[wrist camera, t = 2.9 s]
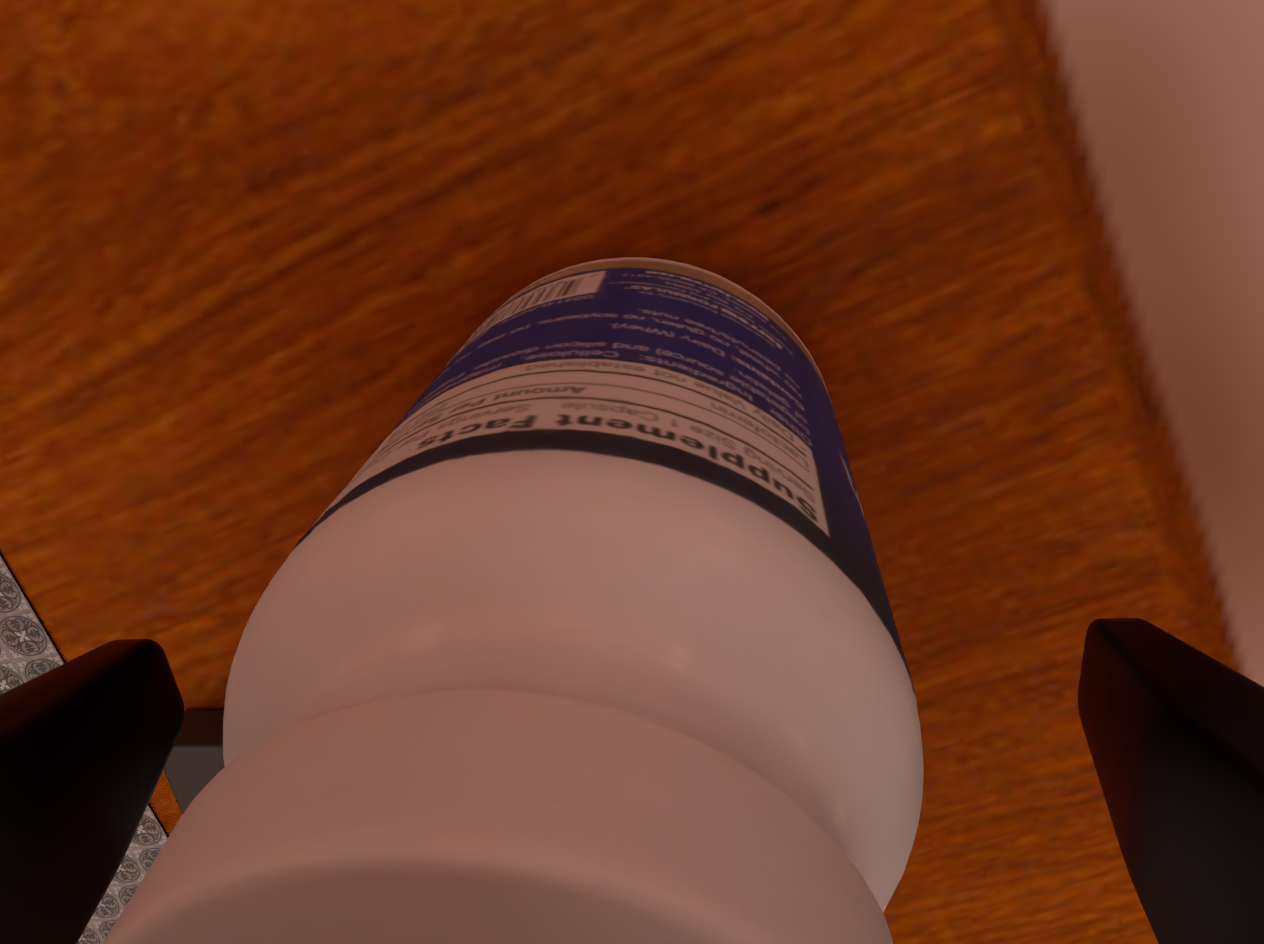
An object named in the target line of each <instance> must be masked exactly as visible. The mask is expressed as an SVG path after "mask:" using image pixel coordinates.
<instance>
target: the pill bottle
mask: <svg viewBox="0 0 1264 944" xmlns="http://www.w3.org/2000/svg"><path fill="white" fill-rule="evenodd" d="M223 758H224V765H225V768H223V769H222V770H221V771H219V773H218V774H217V775H216V776H215V777H214V778H213V779H212V780H211V781H210V782H209V783H208V784H207V785H206V786H205V787H204V788H203V789H202V790H201V792H200V793H199V794H198V795H197V796H196V797H195V798H194V799H193V801H192V802H191V803H190V805H189V806H188V808H187V809H186V810H185V812H184V813H183V815H182V816H181V817H180V819H179V820H178V822H177V824H176V825H175V827H174V829H173V830H172V832H171V834H170V836H169V837H168V839H167V841H166V842H165V844H164V846H163V847H162V849H161V851H160V852H159V854H158V856H157V857H156V859H155V861H154V862H153V864H152V866H151V867H150V869H149V871H148V872H147V874H146V875H145V877H144V879H143V880H142V882H141V883H140V885H139V886H138V888H137V890H136V891H135V893H134V894H133V896H132V897H131V899H130V901H129V902H128V904H127V905H126V907H125V908H124V910H123V912H122V913H121V915H120V916H119V918H118V919H117V921H116V923H115V924H114V926H113V927H112V929H111V931H110V932H109V934H108V935H107V937H106V938H105V940H104V942H103V943H102V944H894V943H893V940H892V936H891V933H890V930H889V927H888V924H887V921H886V918H885V915H884V914H883V912H884V910H885V908H886V907H887V905H888V903H889V901H890V899H891V897H892V895H893V893H894V891H895V889H896V887H897V885H898V883H899V882H900V880H901V878H902V876H903V874H904V871H905V868H906V865H907V861H908V858H909V855H910V852H911V849H912V846H913V842H914V839H915V835H916V831H917V827H918V822H919V818H920V811H921V805H922V797H923V776H924V766H923V748H922V738H921V729H920V721H919V717H918V711H917V702H916V696H915V692H914V688H913V684H912V680H911V676H910V672H909V669H908V666H907V663H906V660H905V657H904V653H903V650H902V647H901V643H900V639H899V636H898V632H897V629H896V625H895V622H894V618H893V615H892V611H891V608H890V604H889V601H888V597H887V594H886V591H885V587H884V584H883V580H882V577H881V574H880V570H879V567H878V564H877V560H876V556H875V553H874V549H873V545H872V541H871V538H870V534H869V531H868V528H867V524H866V521H865V518H864V514H863V510H862V506H861V504H860V501H859V497H858V494H857V490H856V486H855V483H854V479H853V476H852V472H851V469H850V465H849V461H848V458H847V454H846V451H845V447H844V444H843V440H842V437H841V434H840V430H839V427H838V423H837V420H836V416H835V413H834V409H833V406H832V403H831V400H830V397H829V393H828V390H827V387H826V385H825V382H824V380H823V377H822V375H821V372H820V370H819V368H818V367H817V365H816V363H815V361H814V359H813V357H812V356H811V354H810V352H809V351H808V349H807V348H806V347H805V345H804V344H803V342H802V341H801V340H800V338H799V337H798V336H797V335H796V333H795V332H794V331H793V330H792V329H791V328H790V327H789V326H788V324H787V323H786V322H785V321H784V320H783V319H782V318H781V317H780V316H779V315H778V314H777V313H776V312H775V311H774V310H773V309H771V308H770V307H769V306H768V305H766V304H765V303H764V302H763V301H761V300H760V299H759V298H758V297H756V296H755V295H753V294H752V293H750V292H749V291H747V290H745V289H744V288H742V287H741V286H739V285H737V284H735V283H733V282H732V281H730V280H728V279H726V278H724V277H722V276H720V275H718V274H715V273H713V272H710V271H707V270H704V269H702V268H699V267H696V266H693V265H689V264H685V263H680V262H676V261H670V260H665V259H657V258H646V257H622V258H611V259H601V260H596V261H590V262H585V263H581V264H578V265H574V266H570V267H567V268H564V269H562V270H559V271H557V272H554V273H551V274H549V275H547V276H545V277H543V278H541V279H539V280H537V281H535V282H533V283H532V284H530V285H528V286H527V287H525V288H523V289H522V290H521V291H519V292H518V293H516V294H515V295H513V296H512V297H511V298H510V299H508V300H507V301H506V302H505V303H504V304H503V305H501V306H500V307H499V308H498V309H497V310H496V311H495V312H493V313H492V314H491V315H490V316H489V317H488V318H487V319H486V320H485V321H484V322H483V323H482V324H481V325H480V326H479V327H478V328H477V329H476V330H475V331H474V333H473V334H472V335H471V336H470V338H469V339H468V340H467V341H466V342H465V344H464V345H463V346H462V347H461V348H460V350H459V351H458V352H457V353H456V354H455V355H454V356H453V357H452V358H451V359H450V361H449V362H448V363H447V365H446V366H445V367H444V369H443V370H442V371H441V372H440V373H439V375H438V376H437V377H436V378H435V380H434V381H433V382H432V383H431V385H430V386H429V387H428V388H427V390H426V391H425V392H424V393H423V394H422V396H421V397H420V398H419V399H418V401H417V402H416V403H415V404H414V405H413V407H412V408H411V409H410V410H409V412H408V413H407V414H406V415H405V416H404V417H403V419H402V420H401V421H400V422H399V423H398V424H397V426H396V427H395V428H394V429H393V430H392V432H391V433H390V434H389V435H388V437H387V438H386V439H385V440H384V441H383V442H382V444H381V445H380V446H379V448H378V449H377V450H376V451H375V453H374V454H373V455H372V456H371V457H370V458H369V459H368V460H367V462H366V463H365V464H364V465H363V466H362V468H361V469H360V470H359V471H358V473H357V474H356V475H355V476H354V477H353V479H352V480H351V481H350V482H349V483H348V485H347V486H346V487H345V488H344V489H343V491H342V492H341V493H340V494H339V495H338V496H337V497H336V498H335V500H334V501H333V502H332V503H331V504H330V506H329V507H328V508H327V509H326V510H325V511H324V513H323V514H322V515H321V516H320V517H319V518H318V520H317V521H316V522H315V523H314V524H313V526H312V527H311V528H310V530H309V531H308V532H307V533H306V534H305V535H304V536H303V537H302V538H301V539H300V540H299V542H298V543H297V545H296V546H295V548H294V549H293V550H292V552H291V553H290V555H289V556H288V558H287V559H286V560H285V562H284V563H283V564H282V566H281V567H280V569H279V570H278V571H277V573H276V574H275V575H274V577H273V578H272V580H271V581H270V583H269V585H268V586H267V588H266V589H265V591H264V593H263V595H262V596H261V598H260V600H259V601H258V603H257V605H256V606H255V608H254V610H253V612H252V614H251V616H250V618H249V620H248V622H247V624H246V626H245V629H244V631H243V634H242V636H241V639H240V642H239V645H238V648H237V650H236V653H235V656H234V659H233V662H232V666H231V670H230V674H229V679H228V683H227V687H226V695H225V706H224V717H223Z"/></svg>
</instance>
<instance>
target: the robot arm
mask: <svg viewBox="0 0 1264 944" xmlns="http://www.w3.org/2000/svg"><path fill="white" fill-rule="evenodd" d="M1078 708H1079V714H1080V719H1081V723H1082V726H1083V729H1084V732H1085V735H1086V739H1087V742H1088V745H1089V748H1090V752H1091V755H1092V758H1093V761H1094V764H1095V768H1096V771H1097V774H1098V777H1099V781H1100V784H1101V787H1102V790H1103V793H1104V797H1105V800H1106V803H1107V806H1108V810H1109V813H1110V816H1111V819H1112V822H1113V826H1114V829H1115V832H1116V835H1117V839H1118V842H1119V845H1120V848H1121V851H1122V854H1123V857H1124V860H1125V863H1126V866H1127V869H1128V872H1129V875H1130V877H1131V880H1132V882H1133V885H1134V887H1135V890H1136V892H1137V894H1138V897H1139V899H1140V902H1141V904H1142V906H1143V909H1144V911H1145V913H1146V915H1147V918H1148V920H1149V922H1150V924H1151V927H1152V929H1153V931H1154V933H1155V936H1156V938H1157V940H1158V943H1159V944H1264V687H1263V686H1261V685H1259V684H1258V683H1256V682H1254V681H1252V680H1250V679H1249V678H1247V677H1245V676H1243V675H1242V674H1240V673H1238V672H1236V671H1234V670H1233V669H1231V668H1229V667H1227V666H1226V665H1224V664H1222V663H1220V662H1218V661H1217V660H1215V659H1213V658H1211V657H1210V656H1208V655H1206V654H1204V653H1202V652H1201V651H1199V650H1197V649H1195V648H1194V647H1192V646H1190V645H1188V644H1186V643H1185V642H1183V641H1181V640H1179V639H1178V638H1176V637H1174V636H1172V635H1170V634H1169V633H1167V632H1165V631H1163V630H1162V629H1160V628H1158V627H1156V626H1154V625H1153V624H1151V623H1149V622H1147V621H1145V620H1143V619H1139V618H1113V619H1096V620H1095V621H1093V622H1092V623H1091V624H1090V625H1089V628H1088V630H1087V633H1086V638H1085V645H1084V652H1083V660H1082V667H1081V674H1080V681H1079V688H1078ZM183 720H184V703H183V700H182V697H181V694H180V692H179V689H178V687H177V684H176V681H175V679H174V676H173V673H172V671H171V668H170V665H169V663H168V660H167V658H166V655H165V652H164V650H163V648H162V647H161V646H160V645H159V644H158V643H157V642H155V641H153V640H151V639H127V640H115V641H111V642H108V643H106V644H104V645H102V646H100V647H98V648H96V649H94V650H92V651H90V652H88V653H85V654H83V655H81V656H79V657H77V658H75V659H73V660H71V661H69V662H67V663H65V664H63V665H61V666H58V667H56V668H54V669H52V670H50V671H48V672H46V673H44V674H42V675H40V676H38V677H36V678H33V679H31V680H29V681H27V682H25V683H23V684H21V685H19V686H17V687H15V688H13V689H11V690H9V691H6V692H4V693H2V694H0V944H77V943H78V941H79V939H80V938H81V936H82V934H83V932H84V930H85V929H86V927H87V925H88V923H89V921H90V920H91V918H92V916H93V914H94V912H95V911H96V909H97V907H98V905H99V903H100V902H101V900H102V898H103V896H104V895H105V893H106V891H107V889H108V887H109V886H110V884H111V882H112V880H113V878H114V876H115V874H116V872H117V870H118V869H119V867H120V865H121V863H122V861H123V859H124V856H125V854H126V852H127V850H128V848H129V846H130V844H131V842H132V839H133V837H134V835H135V833H136V830H137V828H138V826H139V824H140V821H141V819H142V817H143V814H144V812H145V810H146V808H147V805H148V803H149V801H150V799H151V796H152V794H153V792H154V790H155V787H156V785H157V783H158V780H159V778H160V776H161V774H162V771H163V769H164V767H165V765H166V762H167V760H168V758H169V755H170V753H171V751H172V749H173V746H174V744H175V742H176V740H177V737H178V735H179V733H180V731H181V728H182V725H183Z"/></svg>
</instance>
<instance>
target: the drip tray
mask: <svg viewBox="0 0 1264 944" xmlns="http://www.w3.org/2000/svg"><path fill="white" fill-rule="evenodd" d="M223 717H224V710H198V711H184V720H183V725H182V728H181V731H180V733H179V735H178V737H177V740H176V742H175V744H174V746H173V749H172V751H171V753H170V755H169V758H168V760H167V762H166V765H165V767H164V771H165V773H166V776H167V778H168V781H169V783H170V786H171V788H172V791H173V793H174V796H175V798H176V800H177V803H178V805H179V808H180V810H181V813H182V815H183V813H184V812H185V810H186V809H187V808H188V806H189V805H190V803H191V802H192V801H193V799H194V798H195V797H196V796H197V795H198V794H199V793H200V792H201V790H202V789H203V788H204V787H205V786H206V785H207V784H208V783H209V782H210V781H211V780H212V779H213V778H214V777H215V776H216V775H217V774H218V773H219V771H221V770H222V769H223V768H225V765H224V758H223Z"/></svg>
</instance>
